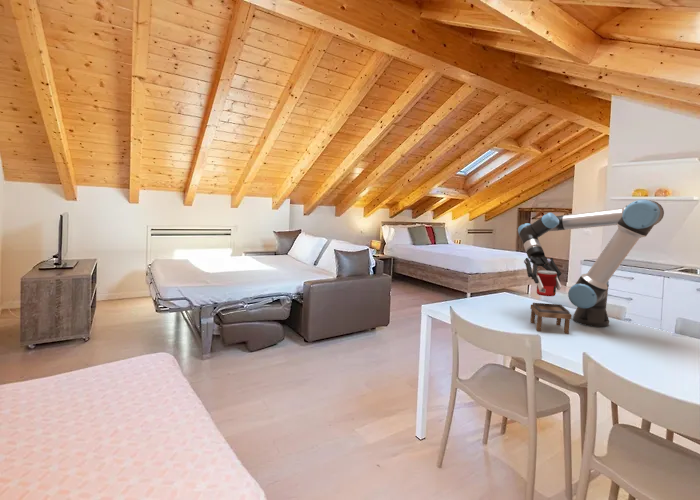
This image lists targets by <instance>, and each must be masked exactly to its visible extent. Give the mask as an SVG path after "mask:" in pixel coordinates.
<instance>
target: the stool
mask: <svg viewBox="0 0 700 500" xmlns="http://www.w3.org/2000/svg"><path fill="white" fill-rule="evenodd" d="M530 310H531V311H530V324H536V332H542V323H543V318H550V319H551V318H552V319H556V321H555V322H556V323H555V325H556V326H558V327H559V326H561V325H562V319H564V324H563V325H564V327H563V333H564V334H567V335H569V334H570V333H569V332H570V325H571V323H570V321H571V320H572V319H573V316H572V315H573V314H571V312H570V311H569V310H568V309H567V308H566V307H565V306H563V305H562V304H559V303H558V304H557V303H556V304H555V303H545V302H543V303H542V302H532V304H530Z"/></svg>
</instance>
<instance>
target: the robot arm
mask: <svg viewBox="0 0 700 500" xmlns="http://www.w3.org/2000/svg"><path fill="white" fill-rule="evenodd" d="M664 214H665V210H664V207H663V206H662V205H661V203H659V202H657V201H655V200H648V199H637V200H635V201H632V202H630V203H629V204H626V205H624V207H622V208H613V209H606V210H597V211H588V212H580V213H571V214H564V215H555V213H552V212H547V213H546V214H543V215H542V216H541V217H539V218H538V219H537V220H535V221H534V222H533V223H528V222H527V223H524V224H523V223H522V224H521V225H519V226H518V228H517V233H518V237H519V238H520V241H521V242H522V244H523V248H524V251H525V253H526V255H527V257H526V258H525V259H524V260H523V263H524V264H525V268H526V273H527V277H528V278H531V280H533V282H534V284H536V286H537V285H538V288H539V290H542V289H543V285H542V282H541V280H540V277H539V276H538V267H542V268H543V269H545V270H546V271H554V272H557V280H556V291H560V290H561V289H562V287H563V286H562V284H561V280H560V276H561V275H562V272H561V271H560V269H559V267H558V266H557V265H556V263H555V262H554V258H553V257H550V258H547V257H546V255H545V251H544V249H543V247H542V245H541V242H540V240H539V238H540V237H542V236H543V235H545V234H546V233H548V232H558V231H565V230H567V231H568V230H576V229H577V230H578V229H579V230H580V229H587V228H597V227H599V228H601V227H609V226H617V230H616V231H615V233H614V234H613V235H612V238H610V240H609V241H608V243H607V244H606V246H605V247H604V249H603V250H602V252H601V253H600V254H599V255H598V257H597V258H596V260H595V261H594V262H593V264H592V266H591V267H590V269H589V271H588V272H587V273H583V274H581V275H580V277H579V278H578V279H577V281H576V282H575V284H573V285H572V286H570V287H569V290H568V294H567V296H568V299H569V301H570V303H571V304H572V305H573V306H575V307H576V309H575V311H574V313H573V314H572V315H573V316H572V320H573V321H574V322H575V323H577V324H580V325H583V326H588V327H594V328H595V327H596V328H603V327H604V328H605V327H608V326H609V325H610V319H609V316H608V313H607V302H608V293H609V285H610V284H609V281H610V279H611V278H612V277H613V275H614V273H615V272H616V271H617V270H618V269H619V267H620V266H621V264H622V263H623V261H624V260H626V257H627V256H628V255H629V253H631V250H632V249H633V248H634V246H635V245H636V244H637V242H638V241H639V239H642V238H645V237H647V236H648V234H649V233H651V232H650V231H652V229H654V227H655V225H657V224H659V223H660V222H661V221H662V220H663V218H664Z"/></svg>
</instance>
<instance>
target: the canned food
mask: <svg viewBox="0 0 700 500" xmlns="http://www.w3.org/2000/svg"><path fill="white" fill-rule="evenodd" d="M537 276H539V277H540V280H541V282H542V285H543V289H542V290H539V288H538V285H537V284H536V295H538V296H542V297H554V296H556V293H557V288H556V280H557V272H554V271H547V270H546V269H545V270H537Z"/></svg>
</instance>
